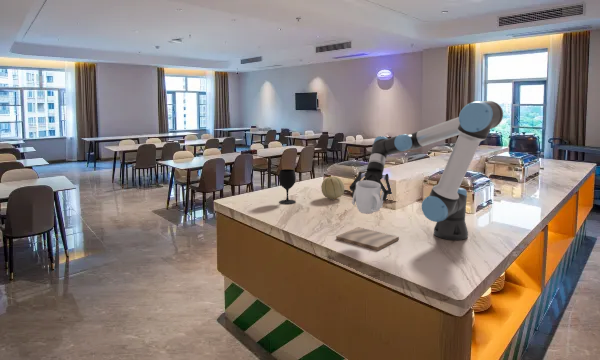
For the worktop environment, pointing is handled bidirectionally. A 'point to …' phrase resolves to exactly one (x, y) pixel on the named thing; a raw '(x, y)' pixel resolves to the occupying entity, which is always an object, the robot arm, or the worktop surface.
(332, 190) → the cantaloupe
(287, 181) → the wine glass
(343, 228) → the worktop surface
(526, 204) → the worktop surface
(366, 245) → the serving board
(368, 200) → the mug
